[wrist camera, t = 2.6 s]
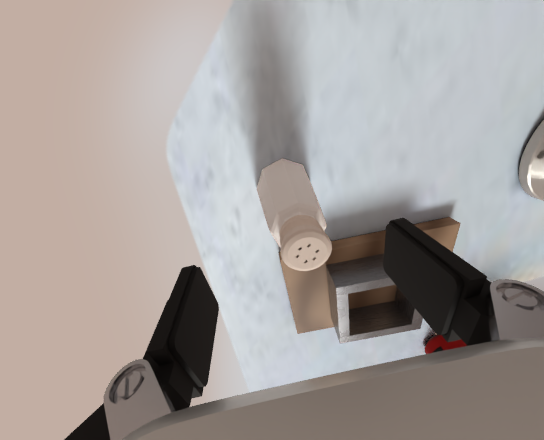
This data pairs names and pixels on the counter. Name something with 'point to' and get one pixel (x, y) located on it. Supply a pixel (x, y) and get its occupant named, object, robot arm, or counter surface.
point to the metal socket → (371, 317)
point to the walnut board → (313, 284)
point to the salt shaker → (294, 215)
